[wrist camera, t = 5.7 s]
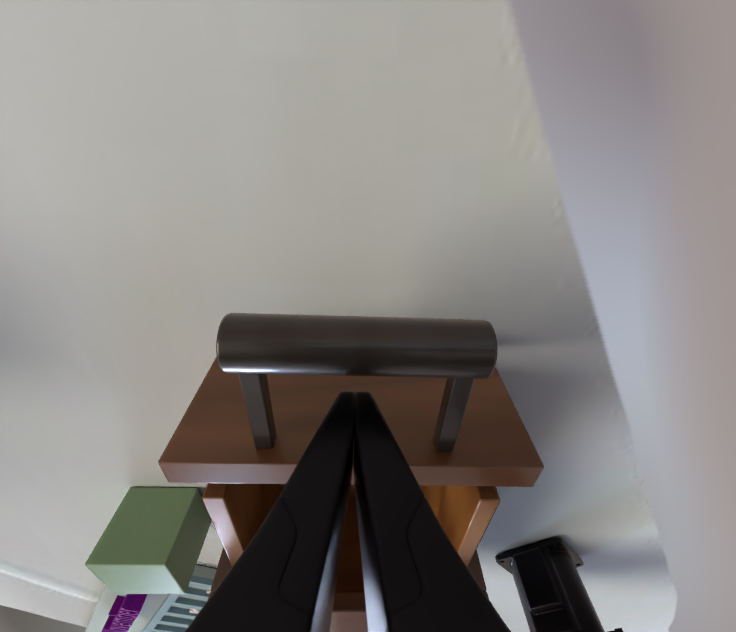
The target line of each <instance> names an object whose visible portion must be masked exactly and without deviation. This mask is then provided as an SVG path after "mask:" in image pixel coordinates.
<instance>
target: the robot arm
mask: <svg viewBox="0 0 736 632" xmlns="http://www.w3.org/2000/svg"><path fill="white" fill-rule="evenodd" d="M354 418H355V419H354ZM353 452H354V457H353ZM352 472H354V485H355V496H356V506H357V517H358V528H359V539H360V549H361V560H362V571H363V581H364V592H365V603H366V614H367V624H368V632H511V631H510V630H509V628H508V627H507V626H506V624H505V623H504V621H503V620H502V619H501V617H500V616H499V614H498V613H497V611H496V610H495V608H494V607H493V605H492V604H491V602H490V601H489V599H488V598H487V596H486V595H485V593H484V592H483V590H482V589H481V587H480V586H479V584H478V583H477V581H476V580H475V578H474V577H473V575H472V574H471V572H470V571H469V569H468V568H467V566H466V565H465V563H464V562H463V560H462V559H461V557H460V556H459V554H458V553H457V551H456V549H455V548H454V546H453V545H452V543H451V541H450V540H449V538H448V537H447V535H446V534H445V532H444V530H443V528H442V526H441V525H440V523H439V521H438V519H437V518H436V516H435V514H434V512H433V510H432V508H431V506H430V504H429V503H428V501H427V499H426V498H424V493H423V491H422V490H421V488H420V486H419V484H418V482H417V480H416V478H415V476H414V474H413V472H412V470H411V468H410V467H409V465H408V463H407V461H406V459H405V457H404V455H403V453H402V451H401V449H400V447H399V446H398V444H397V442H396V440H395V438H394V436H393V434H392V432H391V430H390V428H389V426H388V425H387V423H386V421H385V419H384V417H383V415H382V413H381V411H380V409H379V407H378V405H377V403H376V402H375V400H374V398H373V396H372V394H371V393H370V392H369V391H356V393H355V392H354V391H340V392H339V394H338V396H337V397H336V399H335V401H334V402H333V404H332V406H331V408H330V409H329V411H328V413H327V414H326V416H325V418H324V420H323V421H322V423H321V425H320V426H319V428H318V430H317V432H316V433H315V435H314V437H313V438H312V440H311V442H310V444H309V445H308V447H307V449H306V450H305V452H304V454H303V456H302V457H301V459H300V461H299V462H298V464H297V466H296V468H295V469H294V471H293V473H292V474H291V476H290V478H289V480H288V481H287V483H286V485H285V486H284V488H283V490H282V492H281V493H280V496H281V497H280V496H279V497H278V498H277V500H276V502H275V503H274V505H273V507H272V508H271V510H270V512H269V513H268V515H267V517H266V518H265V520H264V522H263V523H262V525H261V526H260V528H259V530H258V531H257V533H256V534H255V536H254V537H253V539H252V540H251V541H250V543H249V544H248V546H247V547H246V549H245V550H244V551H243V553H242V554H241V556H240V557H239V559H238V560H237V561H236V563H235V564H234V565H233V567H232V568H231V569H230V571H229V572H228V574H227V575H226V576H225V578H224V579H223V580H222V582H221V583H220V584H219V586H218V587H217V589H216V590H215V591H214V593H213V594H212V595H211V597H210V598H209V599H208V601H207V602H206V604H205V605H204V606H203V608H202V609H201V610H200V612H199V613H198V614H197V616H196V617H195V619H194V620H193V621H192V622H191V624H190V625H189V626H188V628H187V629H186V630H185V631H184V632H330V625H331V618H332V611H333V604H334V597H335V590H336V584H337V577H338V570H339V563H340V556H341V549H342V542H343V535H344V529H345V522H346V515H347V508H348V501H349V494H350V487H351V481H352ZM495 558H496V562H497V563H498V564H499V565H500V566H502V567H503V568H505V569H506V570H507V571H509V572H510V573H511V574H513V577H514V581H515V584H516V587H517V590H518V593H519V597H520V600H521V603H522V606H523V609H524V613H525V616H526V619H527V622H528V625H529V629H530V632H605V631H604V629H603V627H602V625H601V622H600V620H599V618H598V616H597V614H596V611H595V609H594V607H593V605H592V602H591V600H590V598H589V596H588V594H587V591H586V589H585V587H584V585H583V582H582V580H581V578H580V576H579V574H578V571H577V569H576V567H579V566H582V565H583V561H582V559H581V558H580V557H579V556H578V555H577V554H576V553H575V552H574V551H573V550H572V549H571V548H570V547H569V546H568V545H567V544H566V543H565V542H564V541H563V540H562V539H561V538H553V539H550V540H547V541H543V542H540V543H537V544H533V545H530V546H527V547H523V548H520V549H517V550H513V551H510V552H507V553H503V554H500V555H497V556H496V557H495ZM609 632H623V630H622V628H618V629H615V631H609Z"/></svg>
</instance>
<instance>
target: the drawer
mask: <svg viewBox="0 0 736 632" xmlns="http://www.w3.org/2000/svg"><path fill="white" fill-rule="evenodd" d="M216 351H217V357H216V359H215V361H214V362H213V364H212V366H211V368H210V370H209V371H208V373H207V375H206V377H205V379H204V380H203V382H202V384H201V386H200V388H199V389H198V391H197V393H196V395H195V397H194V398H193V400H192V402H191V404H190V406H189V407H188V409H187V411H186V413H185V415H184V416H183V418H182V420H181V422H180V424H179V425H178V427H177V429H176V431H175V433H174V434H173V436H172V438H171V440H170V441H169V443H168V445H167V447H166V449H165V450H164V452H163V454H162V456H161V458H160V459H159V462H158V463H159V465H160V467H161V469H162V471H163V473H164V475H165V476H166V478H167V480H168V482H169V483H208V484H207V487H206V489H205V492H204V494H203V497H202V499H203V501H204V504H205V506H206V508H207V511H208V513H209V515H210V517H211V520H212V522H213V524H214V526H215V529H216V531H217V533H218V535H219V538H220V540H221V542H222V544H223V547H224V549H225V551H226V554H227V556H228V558H229V560H230V563H231V565H232V567H233V565H234V564H235V563H236V561H237V560H238V559H239V557H240V556H241V554H242V553H243V551H244V550H245V549H246V547H247V546H248V544H249V543H250V541H251V540H252V539H253V537H254V536H255V534H256V533H257V531H258V530H259V528H260V526H261V525H262V523H263V522H264V520H265V518H266V517H267V515H268V513H269V512H270V510H271V508H272V507H273V505H274V503H275V502H276V500H277V498H278V497H279V496H280V493H281V492H282V490H283V488H284V486H285V485H286V483H287V481H288V480H289V478H290V476H291V474H292V473H293V471H294V469H295V468H296V466H297V464H298V462H299V461H300V459H301V457H302V456H303V454H304V452H305V450H306V449H307V447H308V445H309V444H310V442H311V440H312V438H313V437H314V435H315V433H316V432H317V430H318V428H319V426H320V425H321V423H322V421H323V420H324V418H325V416H326V414H327V413H328V411H329V409H330V408H331V406H332V404H333V402H334V401H335V399H336V397H337V396H338V394H339V392H340V391H354V392H355V393H356V391H369V392H370V393H371V394H372V396H373V398H374V400H375V402H376V403H377V405H378V407H379V409H380V411H381V413H382V415H383V417H384V419H385V421H386V423H387V425H388V426H389V428H390V430H391V432H392V434H393V436H394V438H395V440H396V442H397V444H398V446H399V447H400V449H401V451H402V453H403V455H404V457H405V459H406V461H407V463H408V465H409V467H410V468H411V470H412V472H413V474H414V476H415V478H416V480H417V482H418V484H419V486H420V488H421V490H422V491H423V493H424V498H426V499H427V501H428V503H429V504H430V506H431V508H432V510H433V512H434V514H435V516H436V518H437V519H438V521H439V523H440V525H441V526H442V528H443V530H444V532H445V534H446V535H447V537H448V538H449V540H450V541H451V543H452V545H453V546H454V548H455V549H456V551H457V553H458V554H459V556H460V557H461V559H462V560H463V562H464V563H465V565H466V566H468V564H469V562H470V560H471V558H472V556H473V554H474V552H475V550H476V548H477V546H478V544H479V542H480V540H481V538H482V536H483V534H484V532H485V530H486V528H487V526H488V524H489V522H490V520H491V518H492V516H493V514H494V512H495V510H496V508H497V506H498V504H499V502H500V498H499V495H498V492H497V489H496V486H516V487H532V486H534V484H535V482H536V480H537V479H538V477H539V475H540V473H541V472H542V470H543V468H544V466H543V464H542V462H541V460H540V458H539V455H538V453H537V451H536V449H535V447H534V445H533V443H532V441H531V439H530V437H529V435H528V433H527V431H526V429H525V427H524V425H523V423H522V420H521V418H520V416H519V414H518V412H517V410H516V408H515V406H514V404H513V402H512V400H511V398H510V396H509V394H508V392H507V390H506V388H505V385H504V383H503V381H502V379H501V377H500V375H499V373H498V371H497V369H496V367H495V365H496V360H497V340H496V335H495V331H494V329H493V327H492V325H491V324H490V323H489V322H488V321H486V320H465V319H429V318H393V317H358V316H322V315H286V314H250V313H230V314H227V315H226V316H225V317H224V318H223V320H222V321H221V324H220V326H219V330H218V335H217V344H216ZM354 419H355V418H354ZM353 457H354V452H353ZM280 497H281V496H280ZM345 591H364V581H363V571H362V560H361V549H360V539H359V528H358V517H357V506H356V496H355V485H354V472H352V481H351V487H350V494H349V501H348V508H347V515H346V522H345V529H344V535H343V542H342V549H341V556H340V563H339V570H338V577H337V584H336V590H335V592H345Z"/></svg>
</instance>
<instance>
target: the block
mask: <svg viewBox="0 0 736 632" xmlns="http://www.w3.org/2000/svg"><path fill="white" fill-rule="evenodd" d="M211 521H212V520H211V517H210V515H209V513H208V511H207V508H206V506H205V504H204V502H203V499H202V497H201V495H200V493H199V490H198V488H161V487H130V489H129V490H128V492H127V494H126V496H125V497H124V499H123V501H122V502H121V504H120V506H119V507H118V509H117V511H116V512H115V514H114V516H113V518H112V519H111V521H110V523H109V524H108V526H107V528H106V529H105V531H104V533H103V534H102V536H101V538H100V539H99V541H98V543H97V545H96V546H95V548H94V550H93V551H92V553H91V555H90V556H89V558H88V560H87V561H86V563H85V566H86V567H87V568H88V569H90V570H91V571H92V572H93V573H94V574H95V575H96V576H97V577H98V578H99V579H100V580H101V581H102V582H103V583H104V584H105V585H106V586H107V587H108V588H109V589H110V590H111V591H112V592H113V593H114V594H185V593H186V591H187V588H188V586H189V583H190V580H191V577H192V574H193V571H194V569H195V566H196V563H197V560H198V557H199V555H200V552H201V549H202V546H203V543H204V540H205V538H206V535H207V532H208V529H209V526H210V524H211Z"/></svg>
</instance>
